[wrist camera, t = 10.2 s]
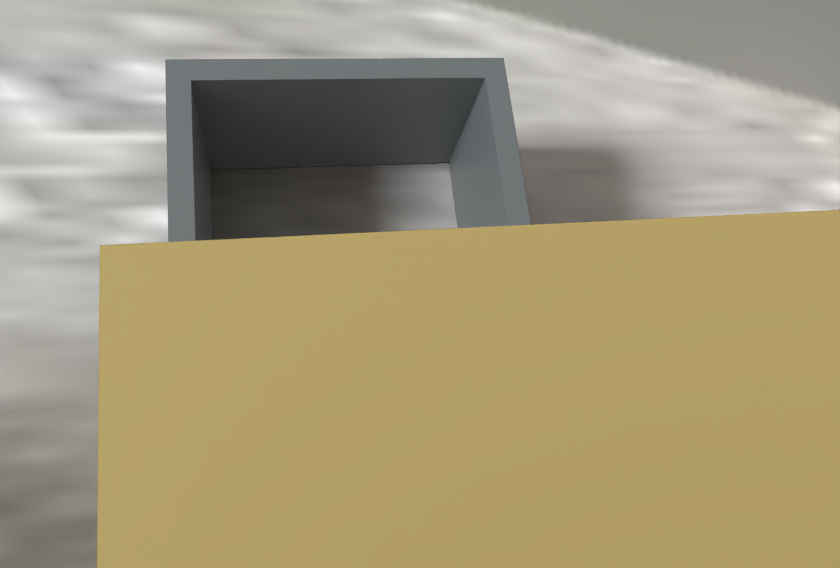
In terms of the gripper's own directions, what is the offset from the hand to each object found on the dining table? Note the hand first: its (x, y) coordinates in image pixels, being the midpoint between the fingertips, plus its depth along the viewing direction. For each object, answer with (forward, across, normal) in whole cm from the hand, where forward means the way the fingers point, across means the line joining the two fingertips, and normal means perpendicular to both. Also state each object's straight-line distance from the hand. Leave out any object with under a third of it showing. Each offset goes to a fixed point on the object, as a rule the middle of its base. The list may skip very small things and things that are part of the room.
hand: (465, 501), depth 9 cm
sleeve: (+15, 0, +4) cm, 15 cm away
